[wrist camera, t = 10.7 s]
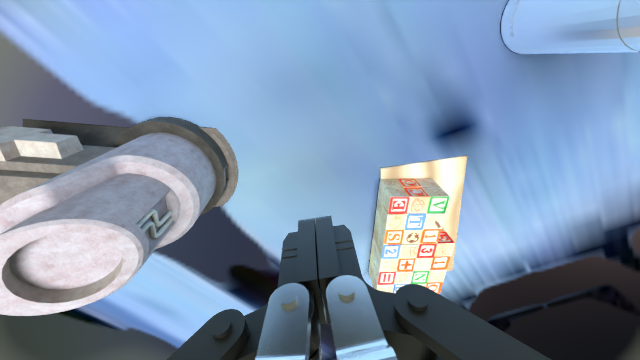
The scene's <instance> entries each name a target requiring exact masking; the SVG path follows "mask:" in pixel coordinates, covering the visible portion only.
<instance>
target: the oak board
mask: <svg viewBox="0 0 640 360" xmlns="http://www.w3.org/2000/svg"><path fill="white" fill-rule="evenodd" d="M466 162H467V156H466V155H465V156H458V157H451V158H444V159H438V160H431V161H424V162H417V163H411V164H404V165H397V166H390V167H384V168H380V177H381V179H433V180H434V181H435V182H436V183H437V184H438V185H439V186H440V187H441V188H442V189H443V190H444V191H445V192H446V193H447V194H448V195H449V196H450V199H449V202H448V205H447V209H446V212H445V213H446V214H445V218H444V222H443V225H442V227H443V228H444V229H445V231H446V232H447V234H448V235H449V236H450V237H451V239H452V240H453V241H454V242H455V245H454V248H453V251H452V254H451V256H450V260H449V263H448V267H447V269H446V271H450V270H452V269H453V261H454V253H455V246H456V238H457V231H458V223H459V215H460V208H461V200H462V192H463V185H464V177H465V169H466Z"/></svg>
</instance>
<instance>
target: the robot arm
mask: <svg viewBox="0 0 640 360" xmlns="http://www.w3.org/2000/svg"><path fill="white" fill-rule="evenodd" d="M501 33H502V38H503V41H504V43H505V44H506V46H507V47H508V48H509V49H510V50H511V51H513V52H515V53H518V54H568V53H617V52H640V0H509V2H508V3H507V5H506V8H505V10H504V13H503V17H502V21H501ZM325 310H326V313H325ZM326 315H327V320H328V323H331V327H332V332H333V338H334V344H335V349H336V355H337V360H551V359H549V358H547V357H545V356H544V355H542V354H540V353H539V352H537V351H535V350H533V349H532V348H530V347H528V346H527V345H525V344H523V343H521V342H520V341H518V340H516V339H514V338H513V337H511V336H509V335H508V334H506V333H504V332H503V331H501V330H499V329H497V328H496V327H494V326H492V325H491V324H489V323H487V322H485V321H484V320H482V319H480V318H479V317H477V316H475V315H473V314H472V313H470V312H468V311H467V310H465V309H463V308H462V307H460V306H458V305H456V304H455V303H453V302H451V301H450V300H448V299H446V298H444V297H443V296H441V295H439V294H438V293H436V292H434V291H432V290H431V289H429V288H427V287H425V286H422V285H418V284H408V285H404V286H402V287H400V288H399V289H398V290H397V291H396V293H391V292H384V291H379V290H376V289H374V288H372V287H371V286H369V285H368V284H367V283H366V282H365V281H364V279H363V277H362V275H361V271H360V267H359V263H358V259H357V255H356V251H355V248H354V243H353V240H352V236H351V232H350V230H349V229H348V228H347V227H346V226H345V225H340V226H332V220H331V216H325V217H319V218H316V223H315V219H314V218H312V219H306V220H299V223H298V232H293V233H289V234H288V235H287V237H286V238H285V240H284V241H283V248H282V256H281V264H280V272H279V280H278V288H277V290H275V291H274V292H273V294H272V295H271V297H270V299H269V303H268V304H267V305H265V306H264V307H262V308H260V309H258V310H256V311H254V312H252V313H250V314H247V315H245V316H244V315H243V314H242V313H241V312H240V311H238V310H235V309H228V310H224V311H221V312H219V313H217V314H216V315H214V316H213V317H212V318H211V319H210V320H208V321H207V322H206V323H205V324H204V325H203V326H202V327H201V328H200V329H199V330H198V331H197V332H196V333H195V334H194V335H193V336H191V337H190V338H189V339H188V340H187V341H186V342H185V343H184V344H183V345H182V346H181V347H180V348H179V349H178V350H177V351H176V352H174V353H173V354H172V355H171V356H170V357H169V358H168V359H167V360H321V343H320V341H321V333H320V324H326Z"/></svg>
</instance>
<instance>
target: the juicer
mask: <svg viewBox="0 0 640 360" xmlns="http://www.w3.org/2000/svg"><path fill="white" fill-rule="evenodd" d="M237 181H238V166H237V161H236V158H235V154H234V152H233V150H232V148H231V146H230V144H229V143H228V142H227V140H226V139H225V137H224V136H223V135H222V134H221V133H220V132H219V131H218V130H217V129H216V128H207V127H199V126H197V125H195V124H193V123H191V122H189V121H186V120H182V119H179V118H172V117H159V118H154V119H150V120H147V121H144V122H142V123H139V124H137V125H134V126H132V127H117V126H106V125H93V124H81V123H68V122H57V121H45V120H32V119H23V127H14V126H8V127H3V128H0V314H4V315H11V316H34V315H45V314H52V313H57V312H63V311H67V310H70V309H74V308H78V307H81V306H84V305H87V304H90V303H92V302H95V301H97V300H100V299H102V298H104V297H106V296H108V295H110V294H111V293H113V292H115V291H116V290H118V289H120V288H121V287H122V286H124V285H125V284H126V283H127V282H129V281H130V280H131V279H132V277H133V276H134V275H135V274H136V273H137V272H138V271H139V269H140V268H141V267H142V265H143V264H144V263H145V262H146V260H147V259H148V258H149V257H150V255H151V254H152V253H153V251H154V250H155V249H156V248H159V247H162V246H165V245H167V244H169V243H172V242H173V241H175V240H177V239H178V238H180V237H181V236H183V235H184V234H185V233H186V232H187V231H188V230H189V229H190V228H191V227H192V226H193V224H194V223H195V221H196V220H197V218H198V217H199V216H200V215H202V214H204V213H206V212H208V211H209V210H211V209H212V208H213V207H216V206H223V205H224V204H225V203H226V202H227V201H228V200H229V199H230V197H231V196H232V195H233V193H234V191H235V188H236V185H237Z"/></svg>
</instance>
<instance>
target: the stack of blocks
mask: <svg viewBox="0 0 640 360" xmlns="http://www.w3.org/2000/svg"><path fill="white" fill-rule="evenodd" d="M449 199H450V196H449V195H448V194H447V193H446V192H445V191H444V190H443V189H442V188H441V187H440V186H439V185H438V184H437V183H436V182H435V181H434V180H433V179H381V180H380V182H379V191H378V200H377V208H376V216H375V225H374V233H373V239H372V249H371V256H370V265H369V274H370V278H371V281H372V285H373V288H374V289H376V290H379V291H384V292H391V293H396V291H397V290H398V289H399V288H400V287H402V286H404V285H408V284H418V285H422V286H425V287H427V288H429V289H431V290H432V291H434V292H436V293H438V294H439V293H440V291H441V287H442V284H443V280H444V276H445V273H446V269H447V267H448V263H449V260H450V256H451V254H452V251H453V248H454V245H455V242H454V241H453V240H452V239H451V237H450V236H449V235H448V234H447V232H446V231H445V229H444V228H443V227H442V225H443V222H444V218H445V214H446V213H445V212H446V209H447V205H448V202H449Z"/></svg>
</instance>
